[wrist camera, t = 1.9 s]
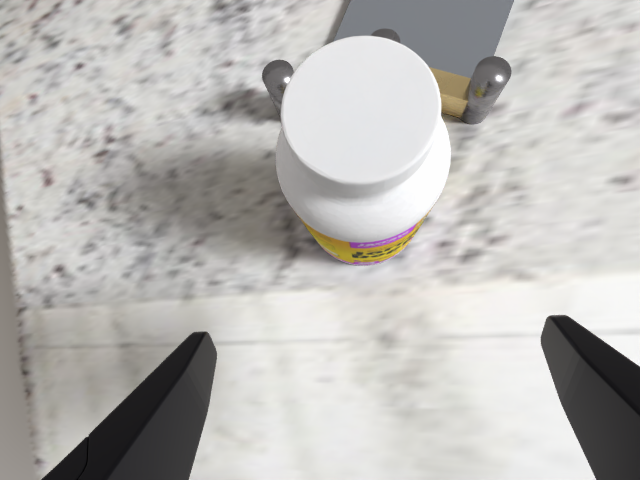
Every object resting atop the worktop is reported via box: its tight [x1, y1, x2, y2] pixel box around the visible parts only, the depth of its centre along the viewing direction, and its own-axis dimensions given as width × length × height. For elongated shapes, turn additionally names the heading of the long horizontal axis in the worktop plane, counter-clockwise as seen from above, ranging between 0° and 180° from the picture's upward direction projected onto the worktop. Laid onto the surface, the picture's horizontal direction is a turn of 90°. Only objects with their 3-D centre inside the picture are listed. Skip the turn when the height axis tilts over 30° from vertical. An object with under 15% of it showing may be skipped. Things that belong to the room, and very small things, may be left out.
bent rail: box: [262, 28, 511, 124], centre depth 22 cm, size 13×5×4 cm, turn 68°
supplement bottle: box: [276, 36, 451, 266], centre depth 17 cm, size 7×7×13 cm
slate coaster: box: [333, 0, 514, 78], centre depth 25 cm, size 10×10×1 cm
